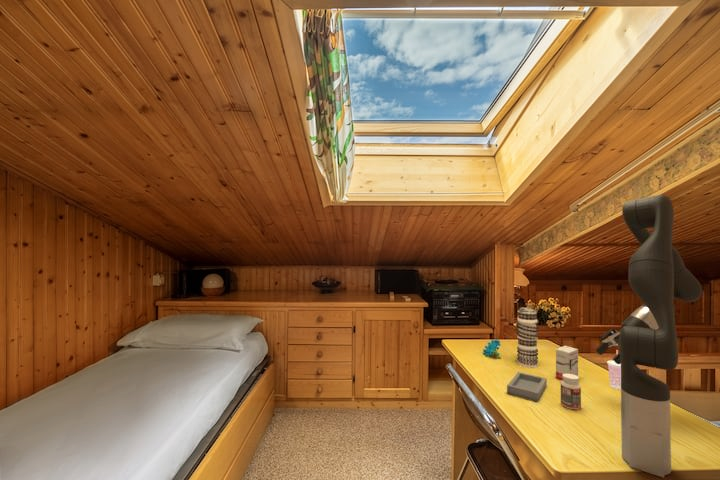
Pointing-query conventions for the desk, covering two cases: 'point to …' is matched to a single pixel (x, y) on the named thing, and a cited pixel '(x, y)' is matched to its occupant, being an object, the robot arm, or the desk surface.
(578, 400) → the pill bottle
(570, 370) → the ink box
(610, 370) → the beverage cup
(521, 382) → the tray
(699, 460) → the desk surface
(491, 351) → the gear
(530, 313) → the black white patterned cylinder
